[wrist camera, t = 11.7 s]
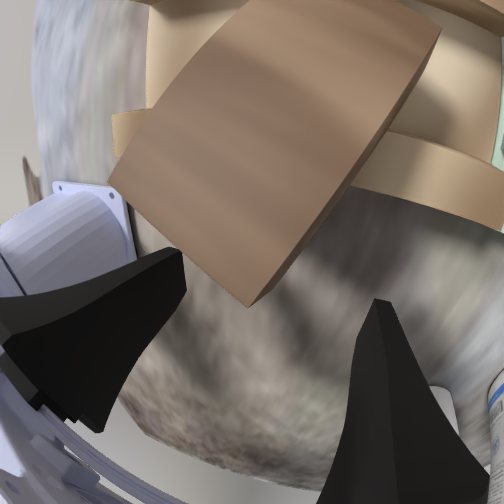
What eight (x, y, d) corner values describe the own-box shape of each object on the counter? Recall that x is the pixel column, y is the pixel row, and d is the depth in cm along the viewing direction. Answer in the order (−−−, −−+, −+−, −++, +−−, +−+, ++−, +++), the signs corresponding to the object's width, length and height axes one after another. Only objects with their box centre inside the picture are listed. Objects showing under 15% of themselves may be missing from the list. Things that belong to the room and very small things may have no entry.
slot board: (159, 141, 13) (114, 156, 11) (165, -20, 8) (122, -34, 5) (470, 198, 9) (500, 231, 6) (487, 7, 4) (518, -11, 1)
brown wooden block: (424, 71, 6) (273, 288, 8) (303, 13, 7) (157, 194, 9) (442, 27, 4) (247, 308, 5) (291, -32, 5) (107, 181, 6)
